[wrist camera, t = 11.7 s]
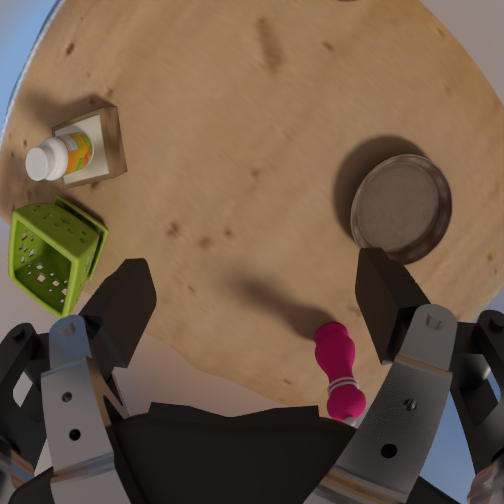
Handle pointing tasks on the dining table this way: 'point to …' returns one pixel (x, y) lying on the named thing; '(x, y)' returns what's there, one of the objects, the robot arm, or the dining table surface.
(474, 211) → the dining table surface
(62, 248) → the flower pot
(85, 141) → the supplement bottle
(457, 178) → the dining table surface
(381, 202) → the plant saucer
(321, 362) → the pepper mill
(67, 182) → the pedestal
